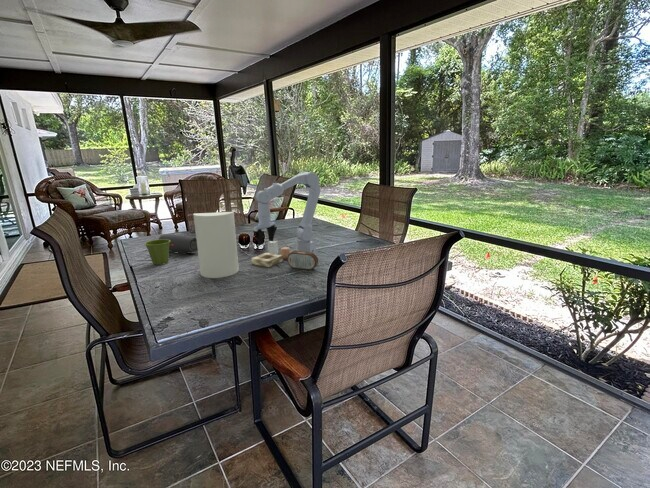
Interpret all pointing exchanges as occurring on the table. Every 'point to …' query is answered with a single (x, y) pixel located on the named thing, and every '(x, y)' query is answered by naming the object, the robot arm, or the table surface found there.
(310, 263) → the tin
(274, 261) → the bore block
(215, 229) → the cylinder
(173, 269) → the table surface
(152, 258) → the plant pot
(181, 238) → the bluetooth speaker
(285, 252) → the round peg
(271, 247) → the square peg
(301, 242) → the robot arm
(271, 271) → the table surface
